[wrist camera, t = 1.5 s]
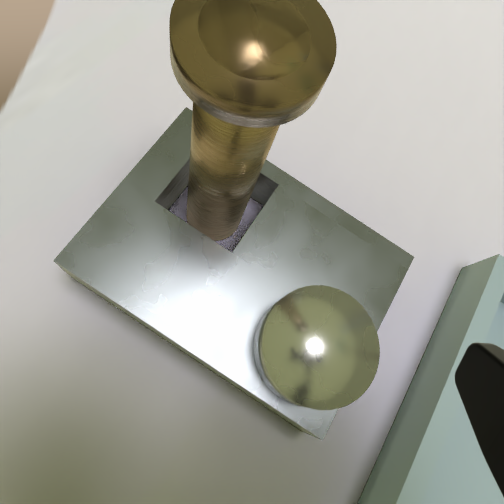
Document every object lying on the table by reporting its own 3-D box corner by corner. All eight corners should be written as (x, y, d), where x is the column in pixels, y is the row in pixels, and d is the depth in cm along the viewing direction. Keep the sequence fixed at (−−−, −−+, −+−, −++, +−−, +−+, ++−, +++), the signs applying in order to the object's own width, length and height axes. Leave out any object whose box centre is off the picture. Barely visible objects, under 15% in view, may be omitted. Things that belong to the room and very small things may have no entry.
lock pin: (225, 268, 22) (284, 136, 10) (157, 223, 22) (133, 37, 10) (266, 207, 24) (363, 26, 11) (203, 165, 24) (230, -59, 11)
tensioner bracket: (302, 431, 20) (340, 448, 16) (70, 276, 21) (38, 247, 16) (385, 271, 24) (437, 245, 19) (185, 138, 24) (187, 80, 19)
